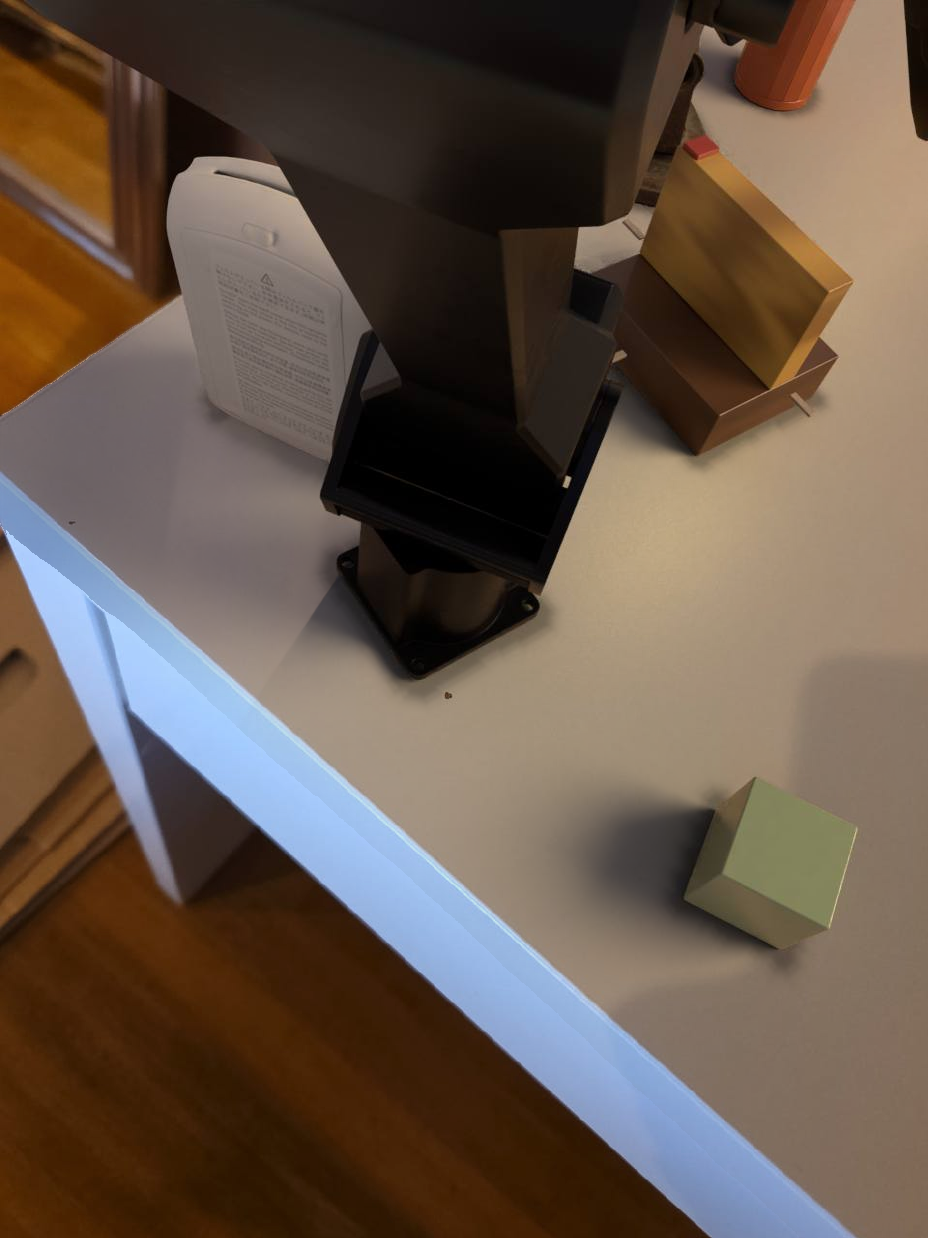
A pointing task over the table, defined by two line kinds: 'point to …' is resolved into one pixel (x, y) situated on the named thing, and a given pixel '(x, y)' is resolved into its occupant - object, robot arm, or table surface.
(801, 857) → the cube
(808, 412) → the block
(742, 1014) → the table surface
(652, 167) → the clothes iron
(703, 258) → the wooden rectangular block
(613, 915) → the table surface
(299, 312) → the photo printer
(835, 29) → the cup
